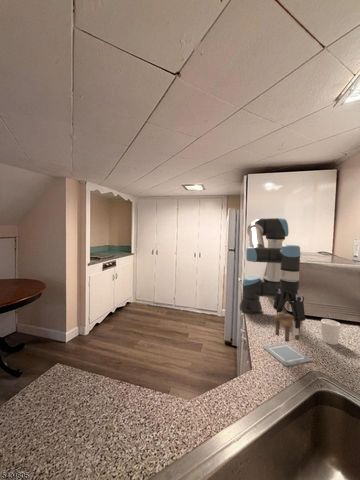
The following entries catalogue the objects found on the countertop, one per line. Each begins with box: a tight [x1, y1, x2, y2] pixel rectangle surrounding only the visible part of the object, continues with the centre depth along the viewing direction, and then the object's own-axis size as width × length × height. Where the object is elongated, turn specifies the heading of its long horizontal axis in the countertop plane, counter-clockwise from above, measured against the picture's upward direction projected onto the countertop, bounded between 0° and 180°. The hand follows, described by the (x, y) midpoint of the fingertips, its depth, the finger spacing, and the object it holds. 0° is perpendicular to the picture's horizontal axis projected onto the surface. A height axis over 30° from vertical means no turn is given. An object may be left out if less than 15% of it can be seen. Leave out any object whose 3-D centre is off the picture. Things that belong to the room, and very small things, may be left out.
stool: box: [273, 313, 303, 343], centre depth 91 cm, size 8×8×9 cm
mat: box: [262, 342, 313, 367], centre depth 92 cm, size 14×14×1 cm
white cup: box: [320, 318, 341, 346], centre depth 103 cm, size 8×8×10 cm
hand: (287, 330), depth 91 cm, fingers closed on stool, 8 cm apart
